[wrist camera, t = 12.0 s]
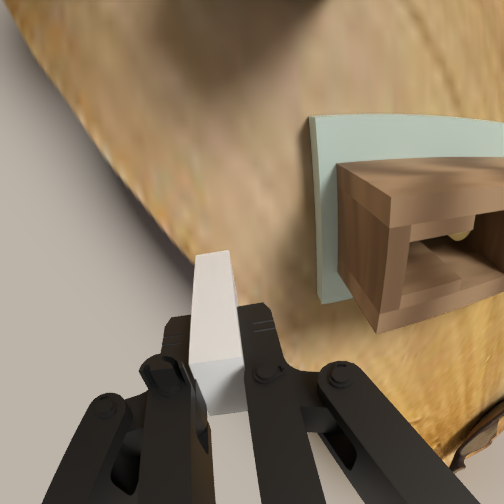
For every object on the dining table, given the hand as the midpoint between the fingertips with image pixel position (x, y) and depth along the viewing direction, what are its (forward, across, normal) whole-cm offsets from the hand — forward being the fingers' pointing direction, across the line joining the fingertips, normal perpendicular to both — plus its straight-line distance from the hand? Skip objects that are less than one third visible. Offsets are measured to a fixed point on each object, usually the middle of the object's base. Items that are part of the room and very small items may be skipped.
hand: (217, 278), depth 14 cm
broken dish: (+6, +46, -50) cm, 68 cm away
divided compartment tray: (+4, +17, 0) cm, 17 cm away
